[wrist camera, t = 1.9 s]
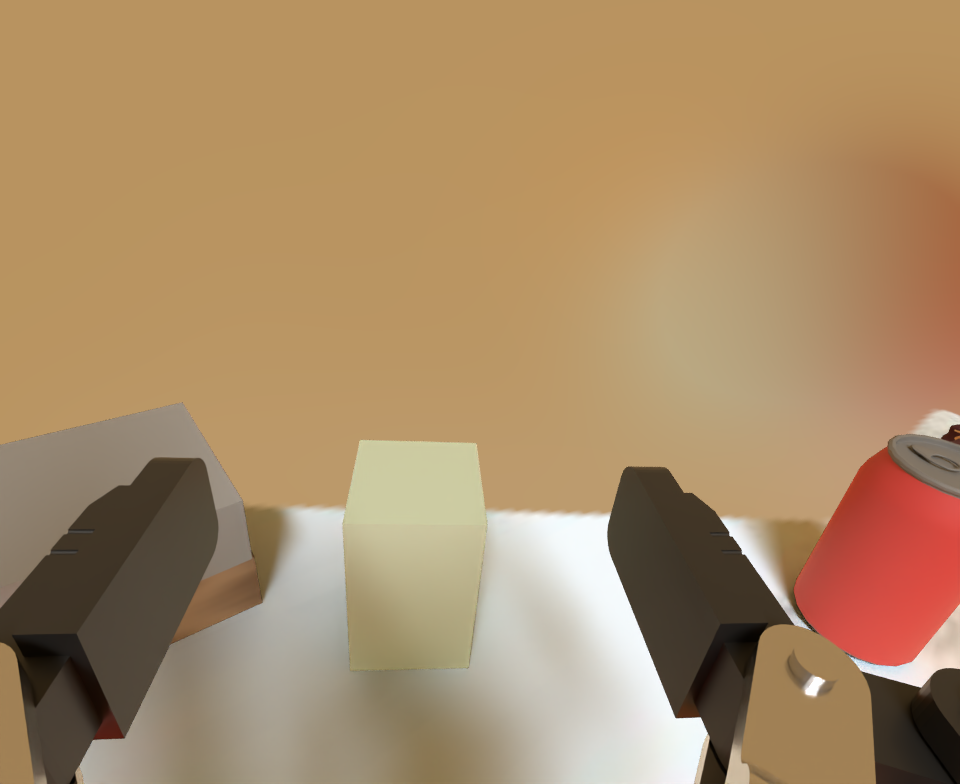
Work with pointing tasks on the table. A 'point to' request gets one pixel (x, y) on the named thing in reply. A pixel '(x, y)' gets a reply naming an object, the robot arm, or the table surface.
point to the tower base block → (221, 598)
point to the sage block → (413, 554)
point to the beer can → (889, 554)
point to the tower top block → (100, 485)
